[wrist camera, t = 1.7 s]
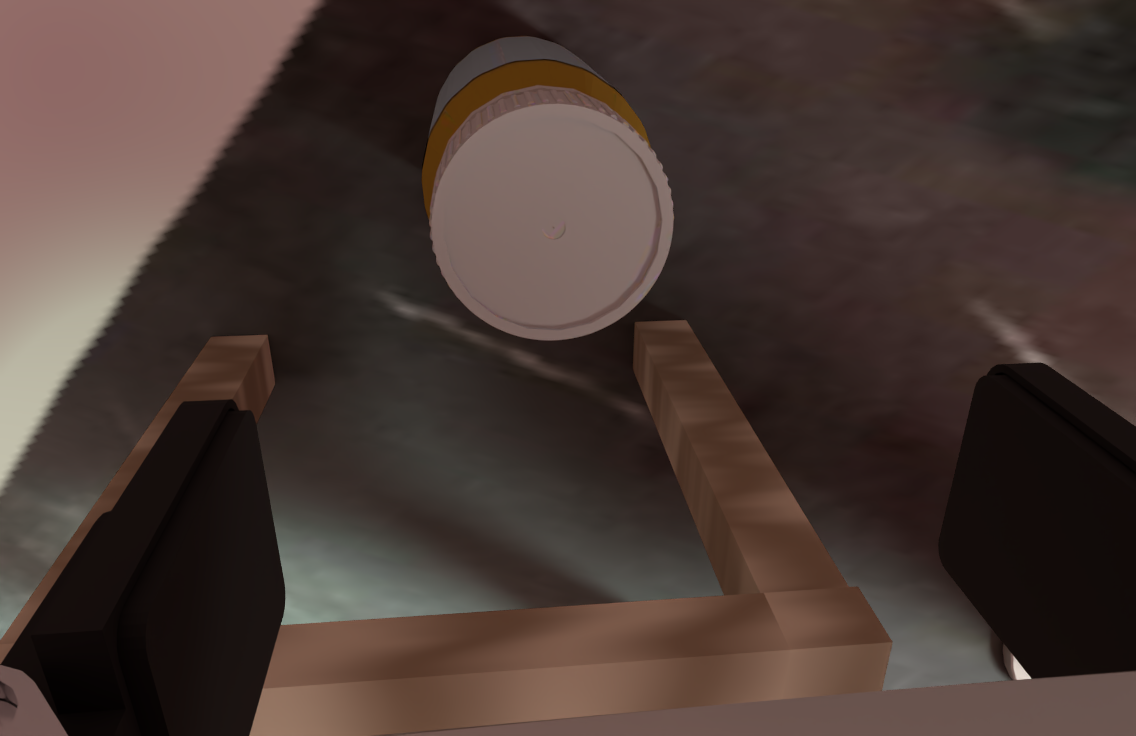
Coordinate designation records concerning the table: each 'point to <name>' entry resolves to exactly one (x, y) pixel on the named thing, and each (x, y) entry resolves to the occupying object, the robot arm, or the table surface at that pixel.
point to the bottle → (543, 192)
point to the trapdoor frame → (583, 632)
